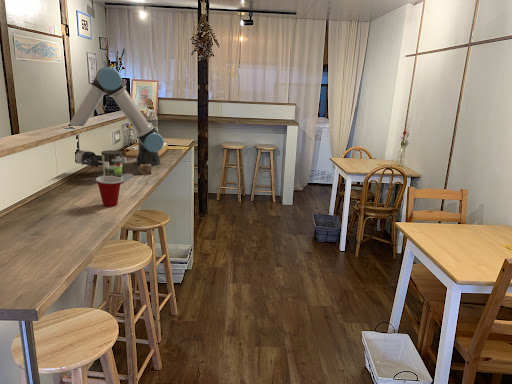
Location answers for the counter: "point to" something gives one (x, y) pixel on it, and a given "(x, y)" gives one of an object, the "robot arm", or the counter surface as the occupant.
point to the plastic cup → (109, 189)
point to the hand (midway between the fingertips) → (117, 162)
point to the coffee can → (112, 163)
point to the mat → (125, 178)
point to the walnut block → (145, 168)
